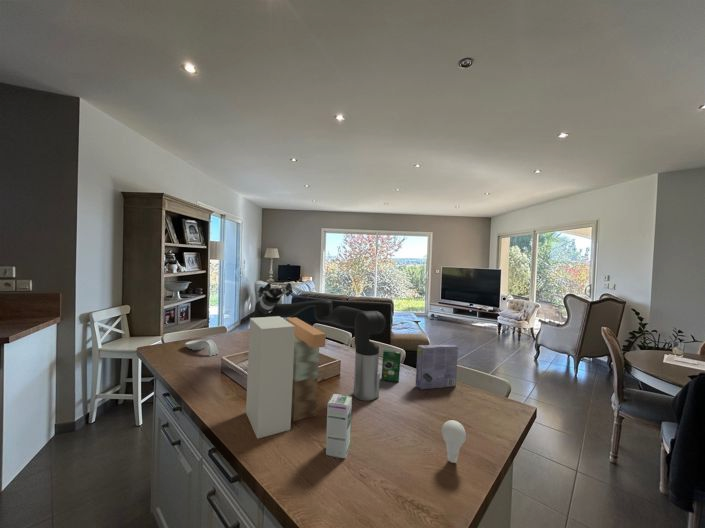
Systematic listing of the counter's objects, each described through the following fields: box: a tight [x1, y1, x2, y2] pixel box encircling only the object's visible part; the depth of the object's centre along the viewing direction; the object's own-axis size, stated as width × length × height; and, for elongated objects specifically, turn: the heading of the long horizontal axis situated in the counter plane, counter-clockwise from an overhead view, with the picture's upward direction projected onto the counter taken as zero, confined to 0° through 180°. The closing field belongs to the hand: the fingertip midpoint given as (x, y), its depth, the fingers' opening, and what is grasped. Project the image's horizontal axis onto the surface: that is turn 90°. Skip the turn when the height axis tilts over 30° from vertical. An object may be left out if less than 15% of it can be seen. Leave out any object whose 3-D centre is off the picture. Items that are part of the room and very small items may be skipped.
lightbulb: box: [441, 419, 467, 464], centre depth 79 cm, size 6×6×11 cm
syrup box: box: [325, 393, 353, 460], centre depth 81 cm, size 6×6×14 cm
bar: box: [285, 317, 327, 349], centre depth 100 cm, size 26×4×4 cm, turn 31°
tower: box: [291, 336, 320, 422], centre depth 100 cm, size 8×8×26 cm
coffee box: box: [380, 349, 402, 383], centre depth 131 cm, size 8×3×13 cm, turn 79°
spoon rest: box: [184, 338, 219, 357], centre depth 159 cm, size 24×12×7 cm, turn 55°
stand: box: [245, 316, 295, 439], centre depth 94 cm, size 10×16×32 cm, turn 31°
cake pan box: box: [415, 344, 459, 390], centre depth 127 cm, size 19×5×18 cm, turn 108°
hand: (279, 284), depth 125 cm, fingers open, 8 cm apart
